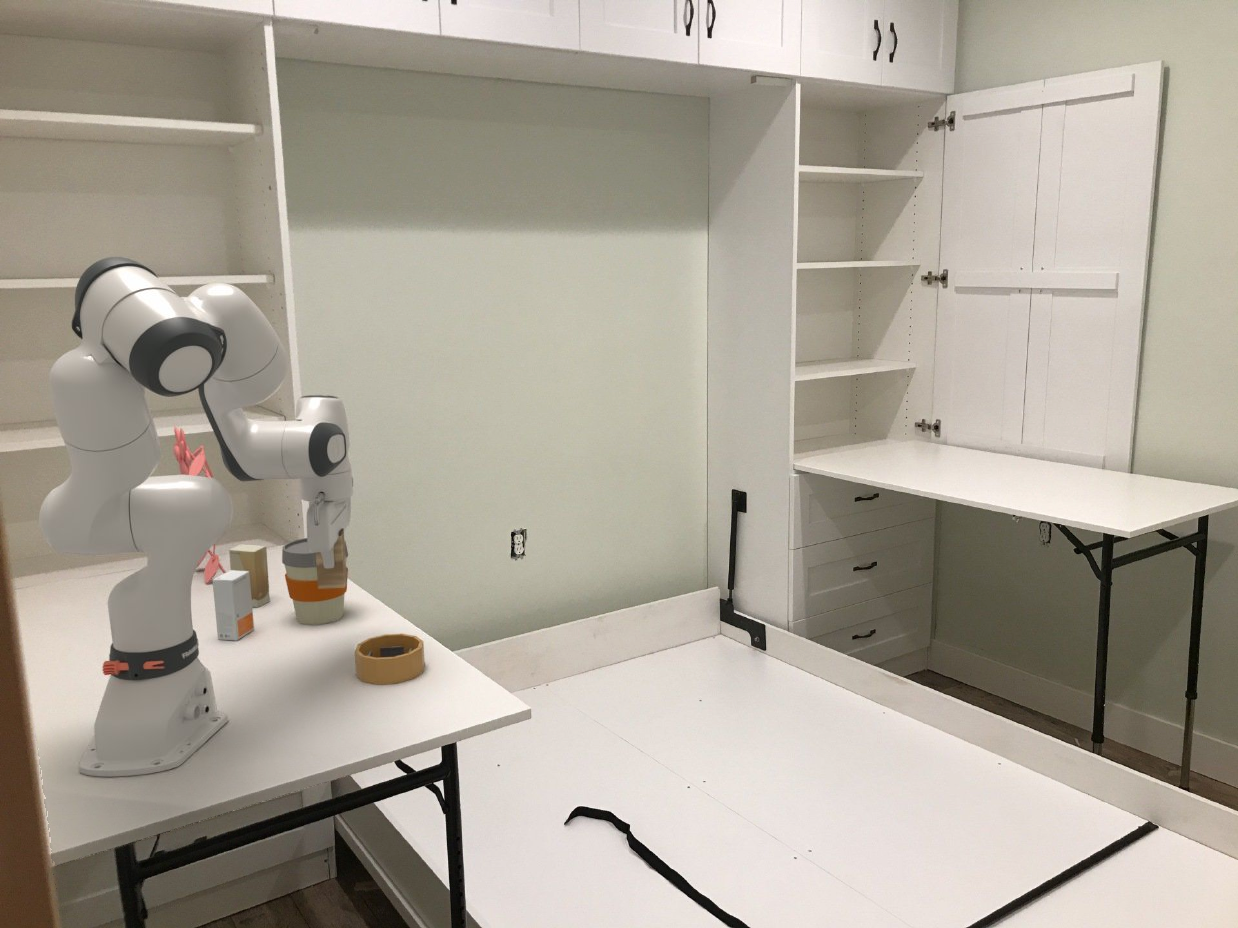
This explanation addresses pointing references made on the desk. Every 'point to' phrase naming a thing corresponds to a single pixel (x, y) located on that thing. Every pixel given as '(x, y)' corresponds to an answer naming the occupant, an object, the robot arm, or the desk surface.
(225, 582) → the skincare box
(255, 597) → the skincare box
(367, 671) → the bowl
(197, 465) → the pink branch
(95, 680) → the desk surface
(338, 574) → the tall wooden block
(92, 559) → the desk surface
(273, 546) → the desk surface
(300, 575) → the reusable coffee cup
